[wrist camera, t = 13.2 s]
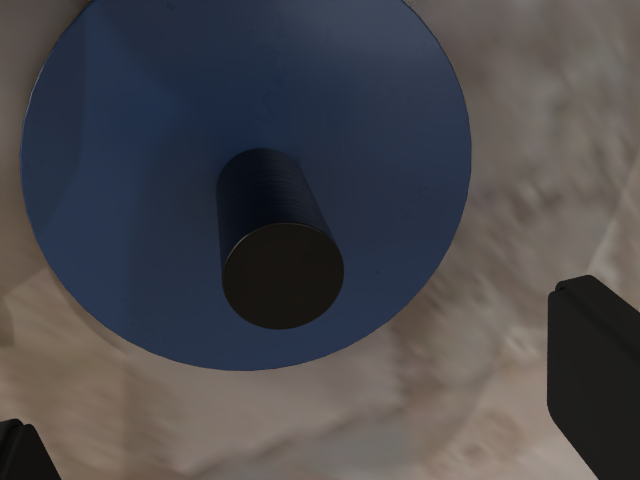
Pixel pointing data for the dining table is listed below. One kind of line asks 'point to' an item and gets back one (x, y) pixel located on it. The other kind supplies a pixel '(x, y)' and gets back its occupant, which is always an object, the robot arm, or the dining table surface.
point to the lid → (245, 172)
